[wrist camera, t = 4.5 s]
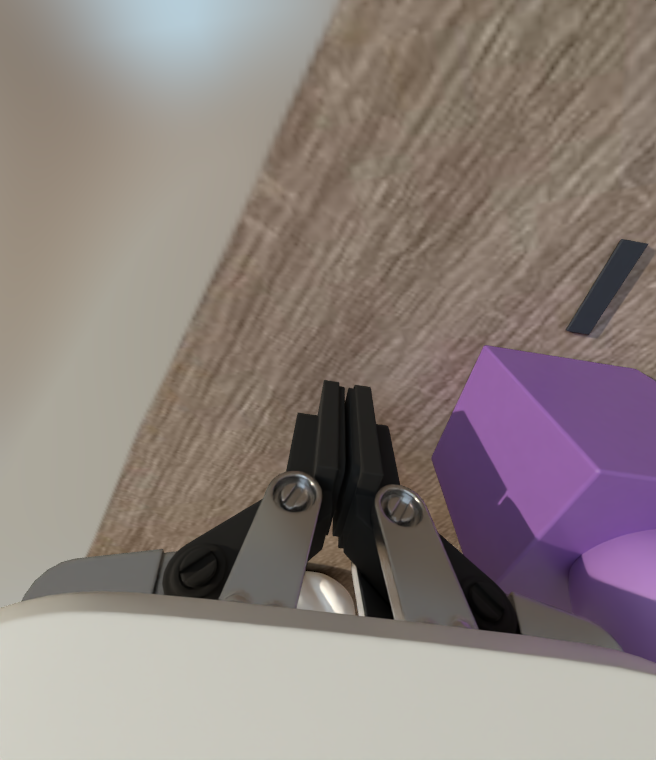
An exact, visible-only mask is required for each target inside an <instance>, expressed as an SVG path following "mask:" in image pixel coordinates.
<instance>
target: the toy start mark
mask: <svg viewBox="0 0 656 760" xmlns="http://www.w3.org/2000/svg"><path fill="white" fill-rule="evenodd" d="M647 245H648V244H646V243H640V242H635V241H629V240H624V239H621V241H620V242H619V244H618V246H617V247H616V249H615V250H614V252H613V254H612V255H611V257H610V259H609V260H608V262H607V264H606V265H605V267H604V268H603V270H602V272H601V273H600V275H599V277H598V278H597V280H596V282H595V283H594V285H593V286H592V288H591V290H590V291H589V293H588V295H587V296H586V298H585V300H584V301H583V303H582V305H581V306H580V308H579V309H578V311H577V313H576V314H575V316H574V318H573V319H572V321H571V323H570V324H569V326H568V327H567V329H566V330H567V331H571V332H577V333H583V334H590V332H591V330H592V329H593V327H594V326H595V324H596V323H597V321H598V320H599V318H600V317H601V315H602V314H603V312H604V311H605V309H606V308H607V306H608V305H609V303H610V302H611V300H612V299H613V297H614V296H615V294H616V293H617V291H618V289H619V288H620V286H621V285H622V283H623V282H624V280H625V279H626V277H627V276H628V274H629V273H630V271H631V270H632V268H633V267H634V265H635V264H636V262H637V261H638V259H639V258H640V256H641V255H642V253H643V252H644V250H645V248H646V247H647Z"/></svg>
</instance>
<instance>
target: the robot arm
mask: <svg viewBox="0 0 656 760" xmlns="http://www.w3.org/2000/svg"><path fill="white" fill-rule="evenodd" d="M332 518H333V536H338V548H344V553H345V554H346V555H347V557H348V558H349V559H350V560H351V561H352V562H351V571H352V577H353V584H354V590H355V596H356V602H357V608H358V614H359V616H357V615H348V614H339V613H330V612H322V611H313V610H304V609H297V604H298V600H299V596H300V592H301V588H302V583H303V579H304V575H305V571H306V567H307V562H308V561H309V560H310V559H311V558H312V557H313V556H315V555H316V554H317V553H318V552H319V551H321V550H322V547H323V543H324V540H325V536H326V535H328V533H329V529H330V526H331V522H332ZM0 760H656V663H655V662H652V661H649V660H647V659H644V658H642V657H639V656H635V655H632V654H629V653H625V652H624V650H623V649H622V647H621V646H620V645H619V644H618V642H617V641H616V640H615V639H614V638H613V636H612V635H611V634H609V633H608V632H607V631H606V630H605V629H603V628H602V627H601V626H600V625H598V624H596V623H594V622H593V621H591V620H589V619H586V618H584V617H581V616H578V615H575V614H573V613H570V612H567V611H564V610H562V609H559V608H556V607H554V606H551V605H548V604H545V603H543V602H540V601H537V600H534V599H532V598H529V597H526V596H523V595H521V594H518V593H515V592H513V591H512V592H511V593H510V594H506V593H504V591H503V590H502V589H501V588H500V587H499V586H498V585H497V584H496V583H495V582H494V581H493V580H492V579H491V578H489V577H488V576H487V575H486V574H485V573H484V572H482V571H481V570H480V569H479V568H478V567H477V566H476V565H474V564H473V563H472V562H471V561H470V560H469V559H468V558H466V557H465V556H464V555H463V554H462V553H461V552H460V551H458V550H457V549H456V548H455V547H454V546H453V545H452V544H450V543H449V542H448V541H447V540H446V539H445V538H443V537H442V536H441V535H440V534H439V533H438V532H437V530H436V527H435V525H434V523H433V520H432V518H431V515H430V513H429V511H428V508H427V506H426V505H425V503H424V501H423V500H422V499H421V497H420V496H419V495H418V494H417V493H415V492H414V491H412V490H411V489H409V488H407V487H404V486H402V485H400V482H399V477H398V472H397V467H396V462H395V457H394V452H393V447H392V442H391V437H390V432H389V428H388V426H385V425H378V424H376V421H375V414H374V407H373V400H372V393H371V388H370V387H366V386H360V385H355V386H354V389H353V388H349V389H348V392H347V396H346V401H345V388H344V387H340V386H339V382H333V381H327V380H324V383H323V389H322V394H321V400H320V406H319V411H318V416H317V415H310V414H303V413H298V414H297V419H296V424H295V429H294V434H293V439H292V445H291V450H290V455H289V460H288V465H287V470H286V472H284V473H282V474H279V475H278V476H276V477H275V478H274V479H273V480H272V481H271V483H270V484H269V486H268V488H267V490H266V492H265V495H264V497H263V499H262V500H260V501H258V502H257V503H255V504H253V505H252V506H250V507H248V508H247V509H245V510H243V511H241V512H240V513H238V514H236V515H235V516H233V517H231V518H230V519H228V520H226V521H225V522H223V523H221V524H220V525H218V526H216V527H215V528H213V529H211V530H210V531H208V532H206V533H205V534H203V535H201V536H200V537H198V538H196V539H195V540H193V541H191V542H190V543H188V544H186V545H185V546H184V547H182V548H181V549H180V550H178V551H176V552H167V553H164V551H163V549H159V550H150V551H141V552H131V553H122V554H113V555H104V556H95V557H86V558H77V559H72V560H68V561H64V562H61V563H59V564H58V565H56V566H54V567H52V568H50V569H48V570H47V571H46V572H45V573H43V574H42V575H41V576H40V577H39V578H38V579H36V580H35V581H34V583H33V584H32V585H31V587H30V588H29V590H28V591H27V592H26V594H25V596H24V597H23V600H22V601H21V602H18V603H15V604H12V605H8V606H6V607H2V608H0Z"/></svg>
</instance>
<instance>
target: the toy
mask: <svg viewBox="0 0 656 760" xmlns="http://www.w3.org/2000/svg"><path fill="white" fill-rule="evenodd" d="M432 462H433V465H434V468H435V471H436V474H437V477H438V480H439V483H440V486H441V489H442V492H443V495H444V498H445V501H446V504H447V507H448V510H449V513H450V516H451V519H452V522H453V525H454V528H455V531H456V534H457V537H458V540H459V543H460V546H461V549H462V552H463V555H464V556H465V557H466V558H468V559H469V560H470V561H471V562H472V563H473V564H474V565H476V566H477V567H478V568H479V569H480V570H481V571H482V572H484V573H485V574H486V575H487V576H488V577H489V578H491V579H492V580H493V581H494V582H495V583H496V584H497V585H498V586H499V587H500V588H501V589H502V590H503V591H504V593H506V594H510V593H511V592H512V591H513V592H515V593H518V594H521V595H523V596H526V597H529V598H532V599H534V600H537V601H540V602H543V603H545V604H548V605H551V606H554V607H556V608H559V609H562V610H564V611H567V612H570V613H574V614H575V615H578V616H581V617H584V618H586V619H589V620H591V621H593V622H594V623H596V624H598V625H600V626H601V627H602V628H603V629H605V630H606V631H607V632H608V633H609V634H611V635H612V636H613V638H614V639H615V640H616V641H617V642H618V644H619V645H620V646H621V647H622V649H623V650H624V652H625V653H629V654H632V655H635V656H639V657H642V658H644V659H647V660H649V661H652V662H655V663H656V381H654V380H653V379H651V378H650V377H648V376H646V375H645V374H643V373H641V372H640V371H638V370H636V369H632V368H625V367H619V366H613V365H607V364H600V363H594V362H588V361H581V360H575V359H569V358H563V357H556V356H550V355H544V354H537V353H531V352H525V351H518V350H512V349H506V348H500V347H493V346H487V345H485V346H484V347H483V349H482V351H481V353H480V355H479V357H478V359H477V362H476V364H475V366H474V368H473V370H472V372H471V374H470V376H469V379H468V381H467V383H466V385H465V387H464V389H463V391H462V393H461V396H460V398H459V400H458V402H457V404H456V406H455V408H454V411H453V413H452V415H451V417H450V419H449V421H448V423H447V425H446V428H445V430H444V432H443V434H442V436H441V438H440V440H439V442H438V445H437V447H436V449H435V451H434V453H433V455H432Z"/></svg>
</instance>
